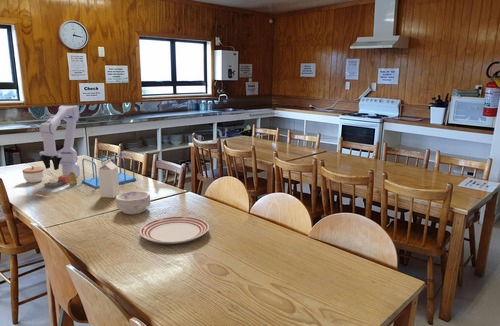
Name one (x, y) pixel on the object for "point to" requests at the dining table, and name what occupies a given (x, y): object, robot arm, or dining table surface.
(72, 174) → the tan rounded peg
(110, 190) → the milk carton
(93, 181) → the file sorter
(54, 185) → the dome housing
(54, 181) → the dome
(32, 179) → the lidded jar
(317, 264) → the dining table surface
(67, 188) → the board
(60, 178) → the die
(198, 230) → the dinner plate
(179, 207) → the dining table surface
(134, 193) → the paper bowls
